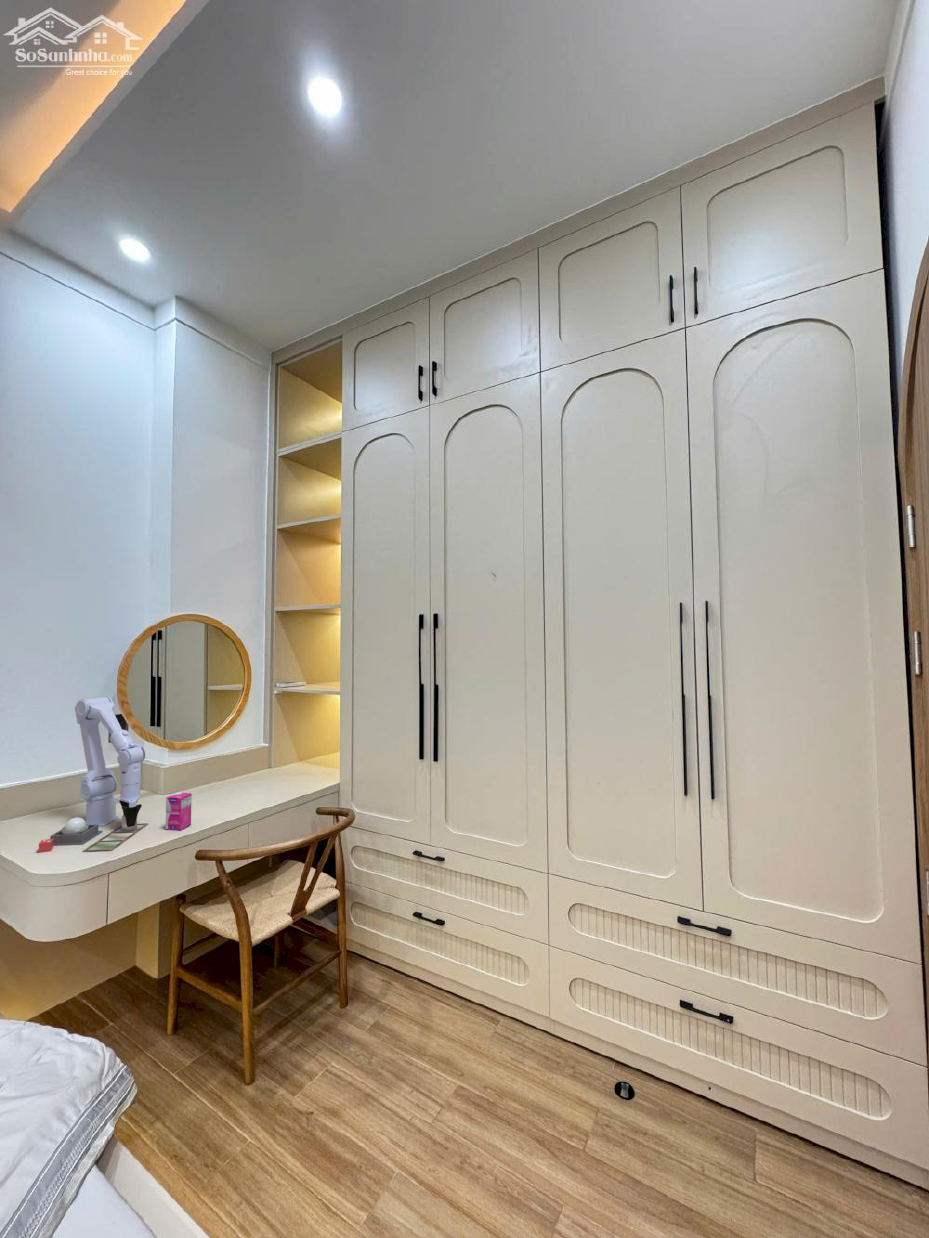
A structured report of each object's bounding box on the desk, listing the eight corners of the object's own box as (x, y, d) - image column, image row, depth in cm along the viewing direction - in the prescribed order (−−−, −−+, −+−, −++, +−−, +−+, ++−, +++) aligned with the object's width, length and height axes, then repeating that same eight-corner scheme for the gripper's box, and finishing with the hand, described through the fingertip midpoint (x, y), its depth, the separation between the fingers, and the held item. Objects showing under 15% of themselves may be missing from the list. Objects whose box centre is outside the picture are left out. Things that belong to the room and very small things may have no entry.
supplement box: (164, 830, 178) (165, 796, 179) (176, 824, 184) (177, 791, 184) (180, 831, 177) (180, 797, 178) (191, 825, 183) (192, 792, 183)
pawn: (126, 826, 181) (126, 805, 182) (139, 826, 182) (140, 805, 182) (119, 831, 177) (119, 809, 177) (132, 830, 177) (133, 809, 178)
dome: (70, 831, 173) (70, 814, 174) (92, 830, 174) (93, 813, 174) (56, 839, 167) (56, 821, 167) (80, 839, 167) (80, 821, 168)
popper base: (67, 833, 175) (67, 824, 175) (102, 832, 176) (102, 823, 177) (45, 846, 164) (45, 836, 164) (82, 845, 166) (83, 835, 166)
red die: (41, 849, 162) (41, 839, 162) (53, 848, 163) (53, 838, 163) (38, 853, 159) (38, 843, 159) (50, 851, 160) (51, 841, 161)
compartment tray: (122, 825, 183) (122, 824, 183) (148, 824, 184) (148, 823, 184) (82, 852, 160) (82, 851, 160) (111, 851, 161) (111, 849, 161)
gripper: (114, 780, 183) (113, 819, 183) (118, 789, 172) (117, 832, 171) (138, 777, 187) (137, 815, 187) (144, 786, 176) (143, 827, 176)
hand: (129, 823), depth 179 cm, fingers open, 7 cm apart
